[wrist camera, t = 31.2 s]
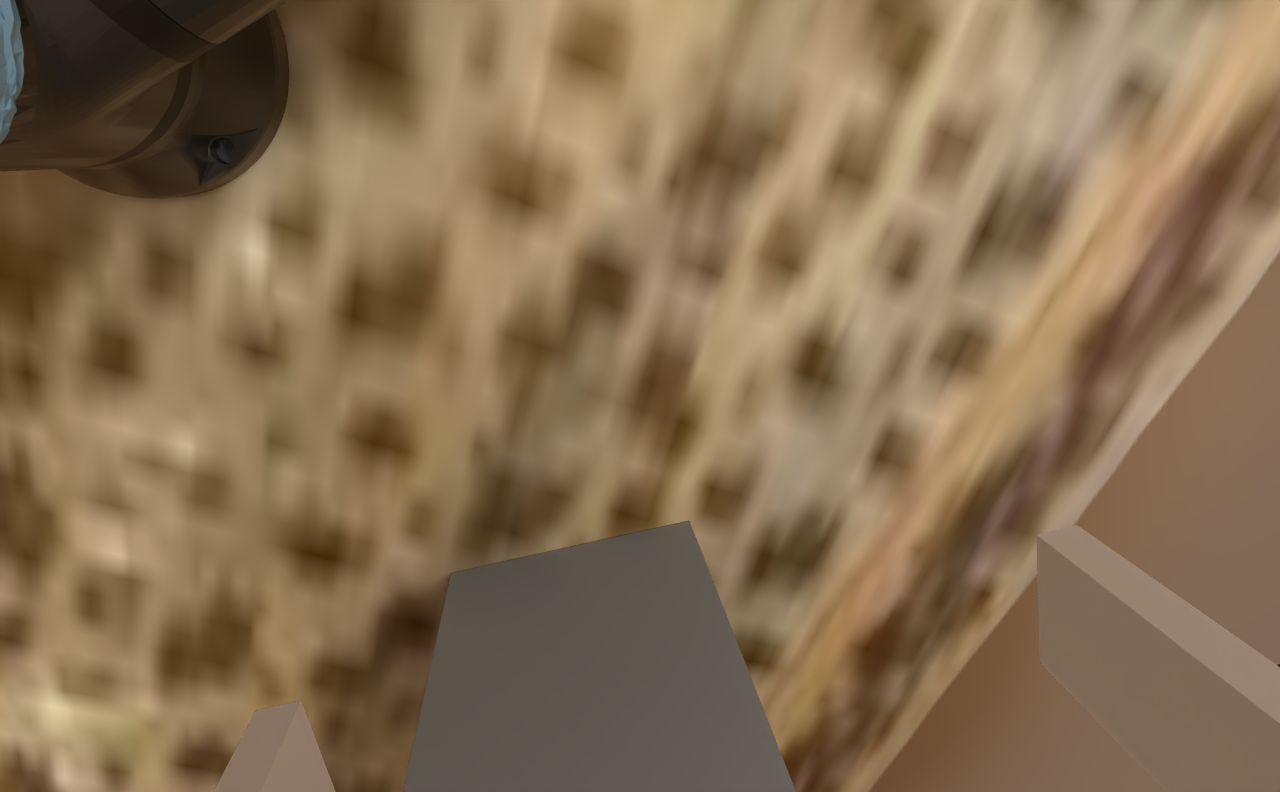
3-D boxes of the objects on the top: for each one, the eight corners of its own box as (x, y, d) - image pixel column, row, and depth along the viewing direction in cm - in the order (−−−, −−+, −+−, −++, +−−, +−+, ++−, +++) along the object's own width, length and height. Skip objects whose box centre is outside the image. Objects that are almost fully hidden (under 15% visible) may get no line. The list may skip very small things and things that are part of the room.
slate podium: (491, 713, 59) (451, 1143, 33) (451, 573, 55) (370, 936, 30) (714, 661, 60) (842, 1043, 34) (689, 520, 56) (810, 829, 31)
